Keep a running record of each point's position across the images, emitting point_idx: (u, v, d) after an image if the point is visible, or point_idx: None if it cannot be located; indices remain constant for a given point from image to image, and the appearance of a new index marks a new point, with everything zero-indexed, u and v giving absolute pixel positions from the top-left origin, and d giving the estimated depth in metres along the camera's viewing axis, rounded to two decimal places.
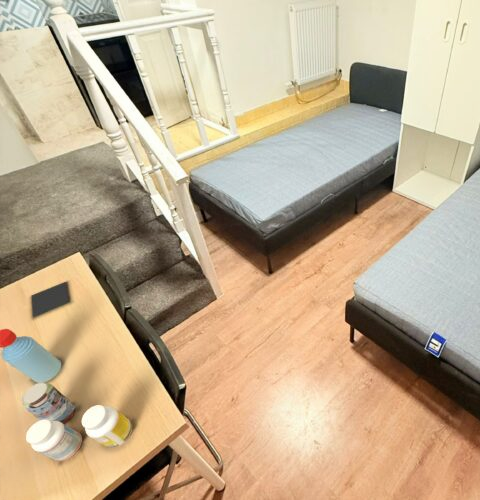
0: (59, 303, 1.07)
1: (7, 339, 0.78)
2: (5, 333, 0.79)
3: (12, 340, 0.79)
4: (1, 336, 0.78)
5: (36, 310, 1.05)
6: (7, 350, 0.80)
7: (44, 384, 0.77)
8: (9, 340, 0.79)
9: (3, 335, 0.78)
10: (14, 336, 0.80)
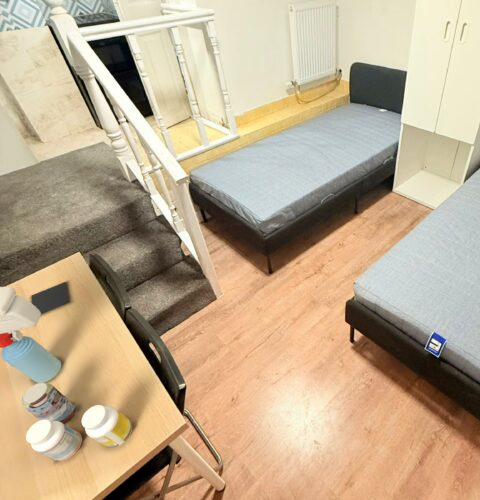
0: (59, 303, 1.07)
1: (7, 339, 0.78)
2: (5, 333, 0.79)
3: None
4: (1, 336, 0.78)
5: None
6: (7, 350, 0.80)
7: (44, 384, 0.77)
8: (9, 340, 0.79)
9: (3, 335, 0.78)
10: None
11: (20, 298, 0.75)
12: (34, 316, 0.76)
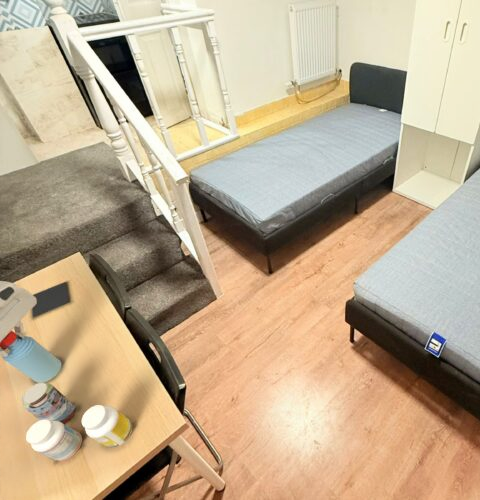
0: (59, 303, 1.07)
1: (11, 331, 0.80)
2: None
3: (14, 333, 0.81)
4: None
5: (36, 310, 1.05)
6: None
7: (44, 384, 0.77)
8: (13, 332, 0.80)
9: None
10: None
11: None
12: None
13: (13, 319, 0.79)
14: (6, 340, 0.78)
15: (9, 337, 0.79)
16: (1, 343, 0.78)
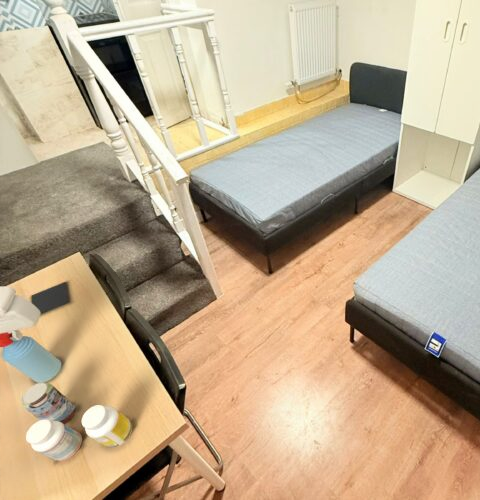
0: (59, 303, 1.07)
1: None
2: None
3: None
4: (1, 333, 0.79)
5: None
6: (7, 350, 0.80)
7: (44, 384, 0.77)
8: None
9: None
10: None
11: (20, 298, 0.75)
12: (34, 315, 0.76)
13: (0, 328, 0.75)
14: None
15: None
16: None
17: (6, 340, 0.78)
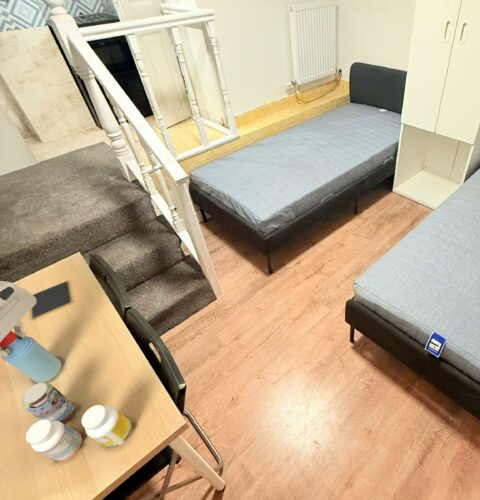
0: (59, 303, 1.07)
1: None
2: None
3: None
4: None
5: (36, 310, 1.05)
6: None
7: (44, 384, 0.77)
8: None
9: None
10: None
11: None
12: None
13: (13, 319, 0.79)
14: None
15: None
16: None
17: (12, 333, 0.80)
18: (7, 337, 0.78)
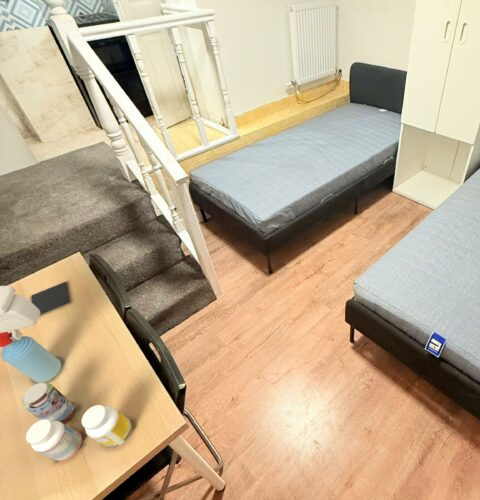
0: (59, 303, 1.07)
1: None
2: None
3: None
4: None
5: None
6: (7, 350, 0.80)
7: (44, 384, 0.77)
8: None
9: None
10: (1, 345, 0.78)
11: (20, 297, 0.75)
12: (34, 315, 0.76)
13: (0, 328, 0.75)
14: None
15: None
16: None
17: None
18: None
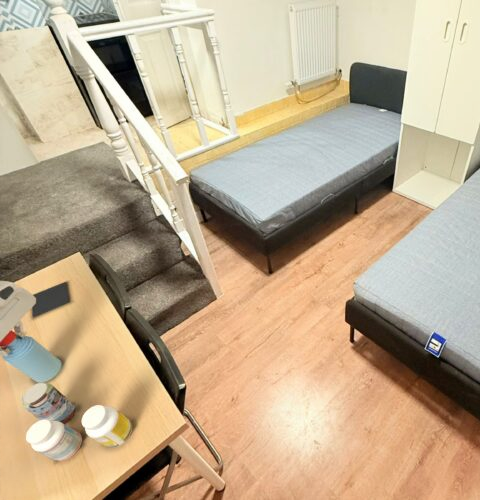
0: (59, 303, 1.07)
1: (2, 341, 0.78)
2: None
3: (7, 342, 0.79)
4: None
5: (36, 310, 1.05)
6: None
7: (44, 384, 0.77)
8: (4, 342, 0.78)
9: None
10: (11, 338, 0.79)
11: None
12: None
13: (13, 318, 0.79)
14: None
15: None
16: None
17: None
18: None
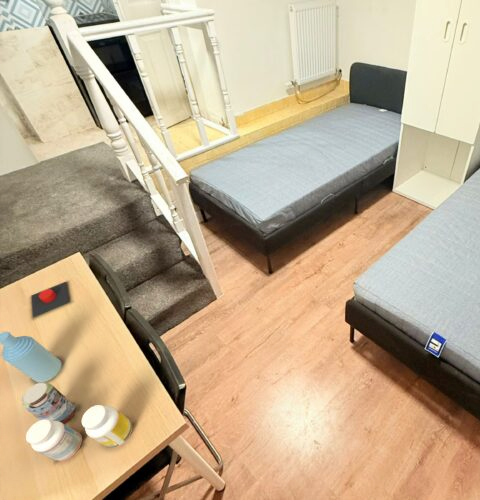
0: (59, 303, 1.07)
1: (47, 298, 1.06)
2: (48, 293, 1.07)
3: (50, 299, 1.07)
4: (45, 294, 1.07)
5: (36, 310, 1.05)
6: (7, 350, 0.80)
7: (44, 384, 0.77)
8: (48, 299, 1.07)
9: (46, 294, 1.07)
10: (53, 297, 1.08)
11: None
12: None
13: None
14: None
15: (41, 299, 1.06)
16: None
17: None
18: None
